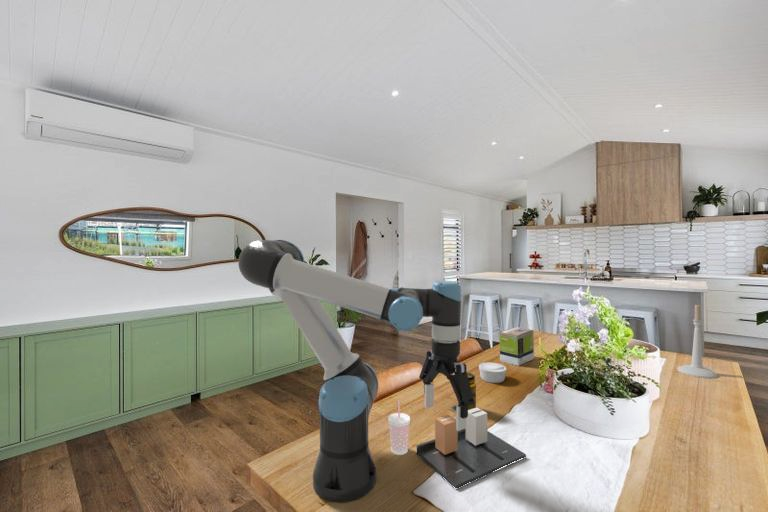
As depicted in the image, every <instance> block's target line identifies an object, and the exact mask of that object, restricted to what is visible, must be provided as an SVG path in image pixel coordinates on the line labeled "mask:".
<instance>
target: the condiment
mask: <svg viewBox="0 0 768 512" xmlns="http://www.w3.org/2000/svg"><path fill="white" fill-rule="evenodd" d="M467 376H468V379H469V383H470V386H471V390H472V394H473V397H474V401H475V404H473V405H470V406H468V410H470V409H474V408H477V384H476V380H475V379H476V375H475V374H474V373H471V372H467ZM462 400H463V398H462ZM457 404H459V402H458V401H457ZM457 404H456V405H453V406H449V407H448V409H449V410H451V411H453V412H454V413H456V410H457Z"/></svg>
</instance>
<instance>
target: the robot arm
mask: <svg viewBox="0 0 768 512" xmlns="http://www.w3.org/2000/svg"><path fill="white" fill-rule="evenodd" d="M238 269H239V272H240V274H241V275H242V276H243V278H244V279H245V280H247V281H248V282H249V283H251V284H253V285H254V286H259V287H262V288H266V289H268V291H270V293H271V294H272V296H276V297H280V299H281V301H282V302H283V303H284V305H285V307H286V308H287V310H288V312H289V313H290V315H291V317H292V318H293V320H294V321H295V323H296V325H297V327H298V328H299V330H300V332H301V333H302V335H303V336H304V338H305V340H306V341H307V342H308V344H309V347H310V348H311V350H312V351H313V354H315V356H316V357H317V359H318V361H319V363H320V364H321V366H322V368H323V370H324V373H323V374H324V375H323V380H324V382H325V383H324V384H323V385H322V386H321V388H320V390H319V398H318V411H319V413H318V415H319V421H318V422H319V453H318V456H317V458H316V463H315V465H314V466H315V467H314V469H313V472H312V485H313V490H314V491H315V493H316V494H317V495H318V496H319V497H320V498H321V499H323V500H326V501H329V502H334V503H346V502H347V503H348V502H352V501H355V500H359V499H360V498H363V497H365V496H366V495H367V494H369V492H371V491H372V490H373V488H374V487H375V484H376V482H377V468H376V464H375V462H374V459H373V456H372V453H371V450H370V447H369V416H370V413H371V410H372V407H373V406H374V405H373V404H374V401H375V399H376V398H377V395H378V392H379V391H378V390H379V379H378V375H377V373H376V371H375V370H374V368H373V367H372V366H371V365H369V364H368V363H365V362H364V361H363V359H362V358H361V356H360V354H359V353H354V352H351V350H350V348H349V346H348V345H347V343H346V342H345V340H344V339H343V337H342V335H341V334H340V332H339V330H338V328H337V327H336V326H335V323H334V322H333V320H332V318H331V317H330V315H329V314H328V313H327V311H326V308H325V307H324V305H323V304H322V303H321V302H325V303H328V304H331V305H335V306H338V307H341V308H344V309H346V310H350V311H353V312H356V313H360V314H363V315H366V316H370V317H372V318H375V319H378V320H382V321H384V322H387V323H390V324H391V325H392V326H393V327H394V328H395V329H396V330H399V331H403V332H408V331H411V330H414V329H416V327H418V325H419V324H420V323H421V321H422V319H423V317H425V318H431V320H432V321H431V337H432V339H431V350H427V351H426V354H425V355H426V356H425V357H426V358H425V360H424V363H423V365H422V369H421V370H420V374H419V377H418V378H419V380H422V383H423V393H424V402H423V403H424V404H423V406H424V408H425V409H428V408H433V407H434V406H435V405H434V401H435V400H434V398H435V397H434V396H435V394H434V393H435V384H434V380H435V378H436V377H437V376H438V375H439V374H442V375H443V376H445V377H446V379H447V380H448V381H449V382H450V385H451V386H452V390H453V392H454V394H455V397H456V399H457V404H456V405H457V410H456V412H455V414H456V415H455V419H456V430H457V431H460V430H462V429H466V418H467V417H468V406H470V405H473V404H475V401H474V397H473V394H472V390H471V386H470V383H469V379H468V376H467V373H468V372H467V371H468V370H467V364H466V363H459V362H458V357H459V355H460V354H461V341H460V339H461V319H462V318H461V317H462V287H461V285H460V283H459V282H456V281H450V280H449V281H446V280H445V281H442V280H441V281H438V280H437V281H434V282H433V283H432V287H431V288H412V287H411V288H410V287H392V288H387V287H384V286H382V285H378V284H374V283H371V282H369V281H365V280H363V279H359V278H355V277H352V276H349V275H346V274H342V273H339V272H336V271H333V270H330V269H327V268H324V267H319V266H317V265H314V264H310V263H307V262H305V258H304V254H303V252H302V250H301V249H300V248H299V247H298V246H297V245H296V244H295V243H293V242H290V241H287V240H284V239H274V240H269V239H267V240H266V239H258V240H255V241H251V242H250V243H248V244H247V245H246V246H244V248H242V250H241V252H240V254H239V256H238ZM462 398H463V400H462ZM458 402H459V404H458Z"/></svg>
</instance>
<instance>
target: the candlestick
mask: <svg viewBox="0 0 768 512" xmlns="http://www.w3.org/2000/svg"><path fill="white" fill-rule="evenodd" d="M701 317H702V305H700V304H694V319H692V321H693V325H694V330H693V342H692V351H691V352H692V354H691V363H690V364H683V365H680V366H677V371H678V372H679V373H682V374H684V375H687V376H692V377H694V378H695V377H696V378H702V379H715V378H717V377H718V374H717V373H716V372H715V371H714V370H712V369H710V368H707V367H704V365H703V356H702V355H703V354H702V353H703V351H702V337H701V336H702V334H701V330H702V329H701V326H702V323H703V322H704V320H702V318H701Z"/></svg>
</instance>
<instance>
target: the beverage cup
mask: <svg viewBox="0 0 768 512" xmlns="http://www.w3.org/2000/svg"><path fill="white" fill-rule="evenodd" d="M397 403H398V404H397V408H398V409H397V411H398V412H395V413H391V414H389V415H388V416H387V417H388V418H387V419H388V423H389V425H388V426H389V438H390V439H389V441H390V450H391V453H392V454H394V455H397V456H401V455H406V454H407V453H408V450H409V433H410V422H411V417H410V415H408V414H406V413H403V412H401V400H400V399H398V400H397Z"/></svg>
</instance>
